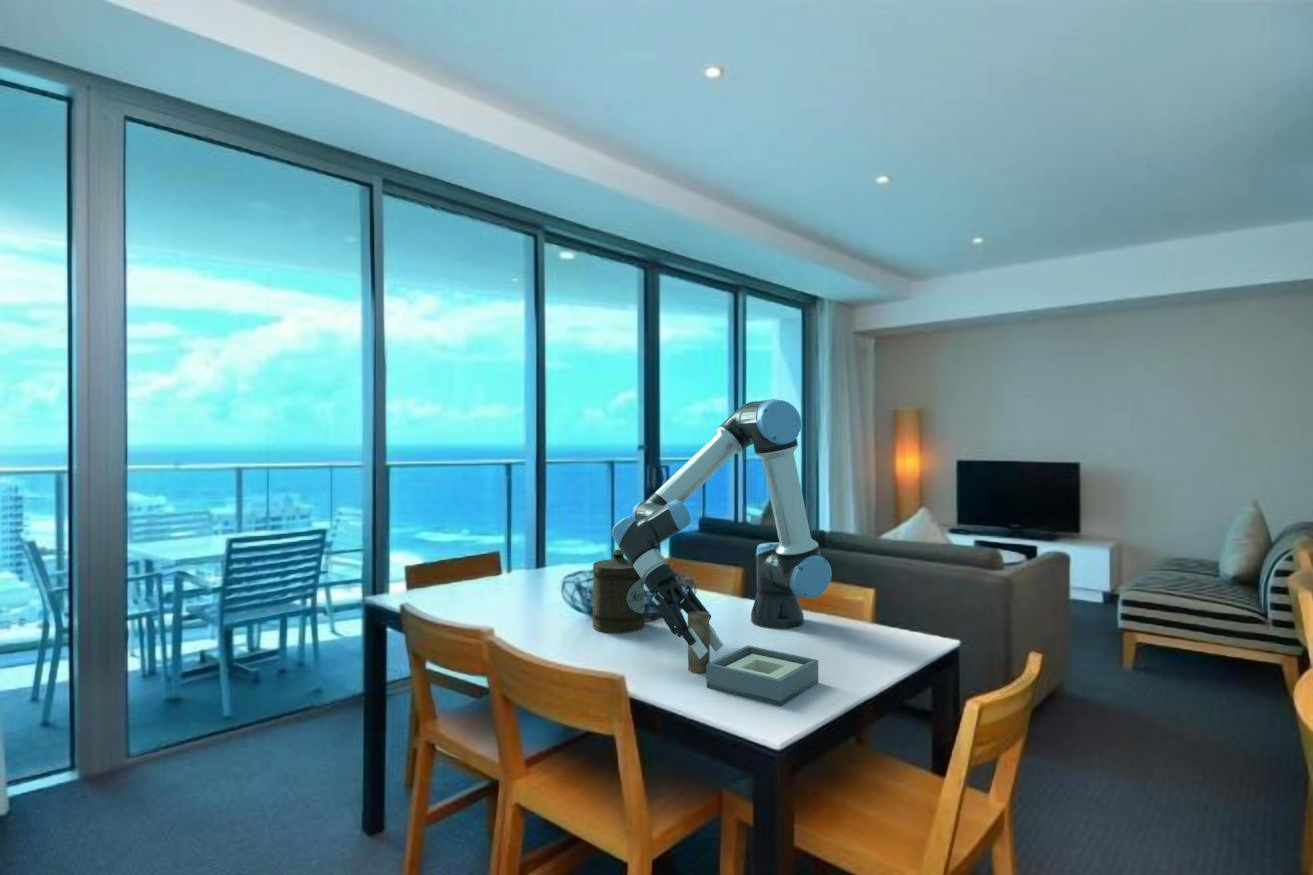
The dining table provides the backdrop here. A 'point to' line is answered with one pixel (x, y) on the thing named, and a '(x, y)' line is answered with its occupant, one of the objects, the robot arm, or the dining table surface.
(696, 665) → the peg
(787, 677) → the tray
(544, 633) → the dining table surface
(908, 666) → the dining table surface
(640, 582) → the wooden container
